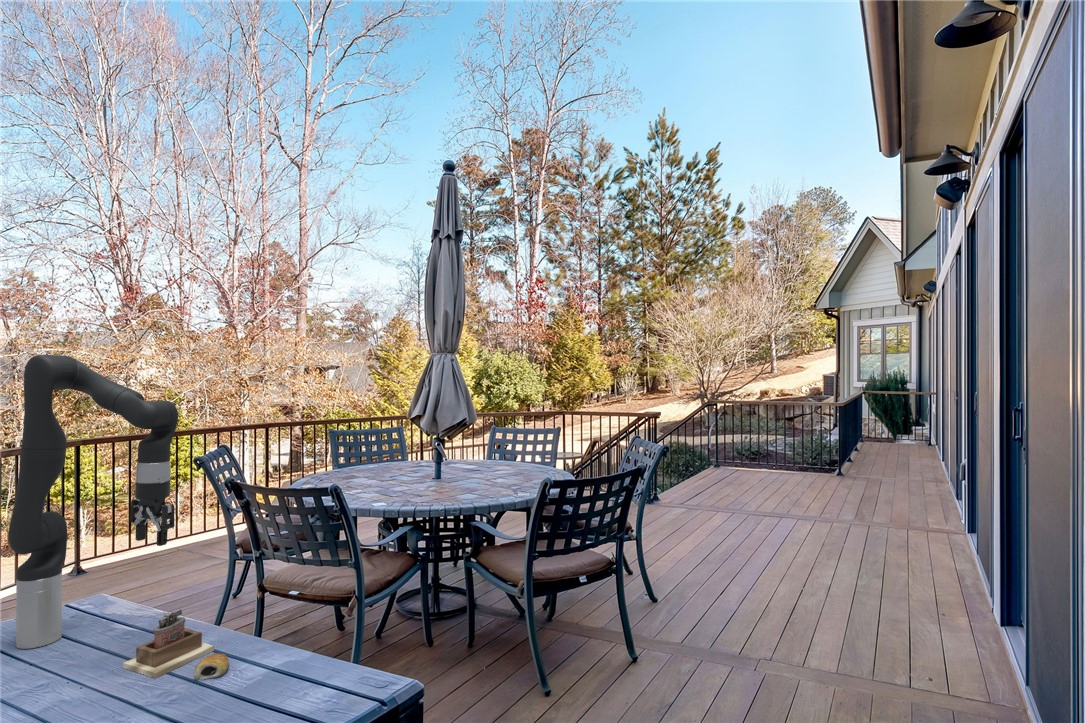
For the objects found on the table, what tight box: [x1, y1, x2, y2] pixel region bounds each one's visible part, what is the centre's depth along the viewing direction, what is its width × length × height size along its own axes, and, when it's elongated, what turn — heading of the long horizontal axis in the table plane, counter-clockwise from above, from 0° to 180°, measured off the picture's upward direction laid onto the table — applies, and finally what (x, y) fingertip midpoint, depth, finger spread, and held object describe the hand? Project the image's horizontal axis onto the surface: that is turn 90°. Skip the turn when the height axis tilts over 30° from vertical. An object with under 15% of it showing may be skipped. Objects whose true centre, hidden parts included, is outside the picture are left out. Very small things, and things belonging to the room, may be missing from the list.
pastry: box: [193, 652, 230, 681], centre depth 143 cm, size 9×7×4 cm
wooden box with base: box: [122, 627, 215, 679], centre depth 148 cm, size 12×15×5 cm
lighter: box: [152, 608, 186, 650], centre depth 148 cm, size 8×3×10 cm, turn 165°
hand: (151, 542), depth 154 cm, fingers open, 8 cm apart
